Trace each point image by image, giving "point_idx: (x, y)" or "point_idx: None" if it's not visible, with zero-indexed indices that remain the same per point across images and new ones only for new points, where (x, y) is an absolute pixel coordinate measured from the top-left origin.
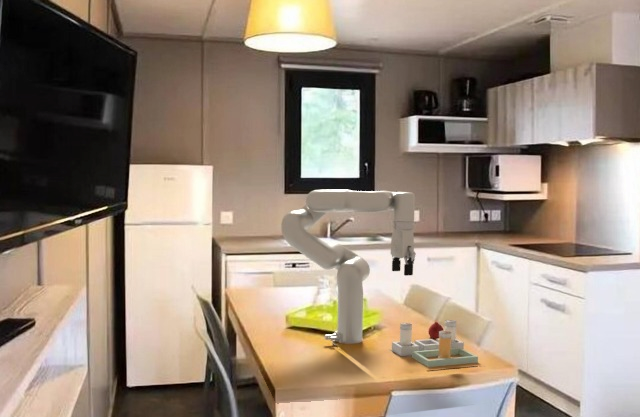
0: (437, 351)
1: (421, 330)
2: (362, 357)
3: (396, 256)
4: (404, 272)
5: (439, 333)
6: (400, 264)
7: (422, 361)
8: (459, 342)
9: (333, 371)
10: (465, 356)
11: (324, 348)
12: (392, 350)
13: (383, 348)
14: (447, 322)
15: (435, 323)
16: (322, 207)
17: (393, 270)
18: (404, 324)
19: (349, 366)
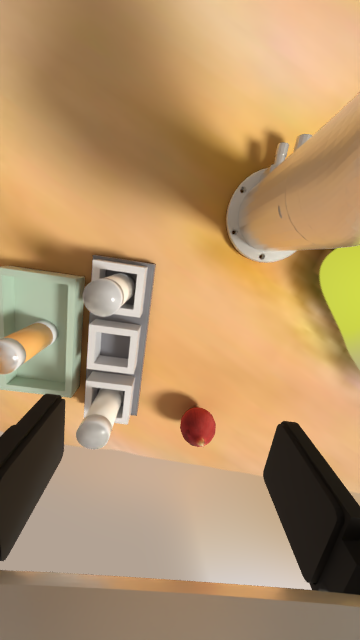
0: (67, 339)
1: None
2: (155, 183)
3: (146, 591)
4: (41, 406)
5: (5, 342)
6: (291, 537)
7: (26, 270)
8: (86, 411)
9: (74, 27)
10: (44, 383)
11: (266, 127)
12: (143, 266)
13: (198, 277)
14: (86, 422)
15: (198, 438)
16: None
17: (279, 427)
18: (101, 292)
19: (99, 102)
